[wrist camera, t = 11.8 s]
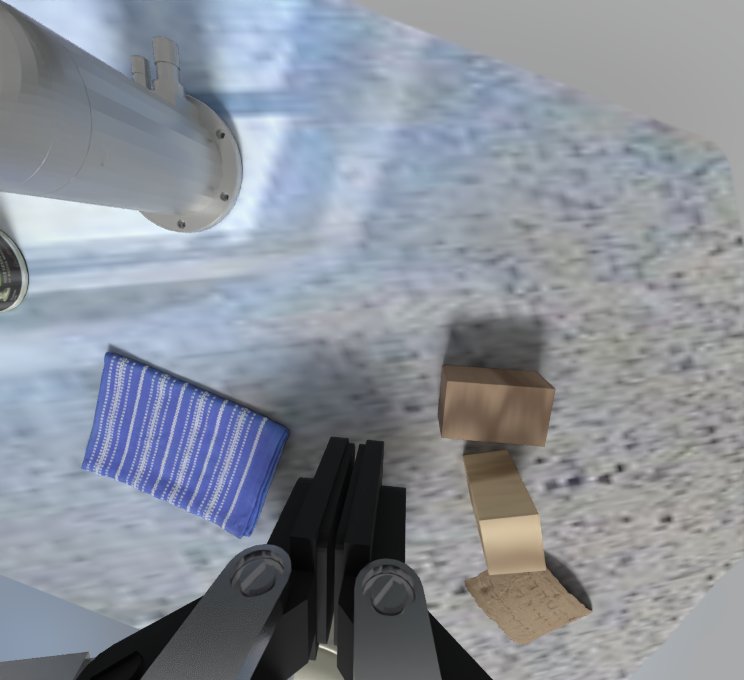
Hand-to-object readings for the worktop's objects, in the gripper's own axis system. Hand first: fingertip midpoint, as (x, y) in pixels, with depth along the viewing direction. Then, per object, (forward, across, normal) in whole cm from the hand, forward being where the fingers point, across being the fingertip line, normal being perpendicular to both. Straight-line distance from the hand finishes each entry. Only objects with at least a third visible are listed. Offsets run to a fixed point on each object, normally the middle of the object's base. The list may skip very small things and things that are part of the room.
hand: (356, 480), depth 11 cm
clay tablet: (+28, -19, +35) cm, 49 cm away
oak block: (+27, -12, +18) cm, 35 cm away
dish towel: (+28, +25, +18) cm, 42 cm away
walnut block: (+25, -16, +8) cm, 30 cm away
